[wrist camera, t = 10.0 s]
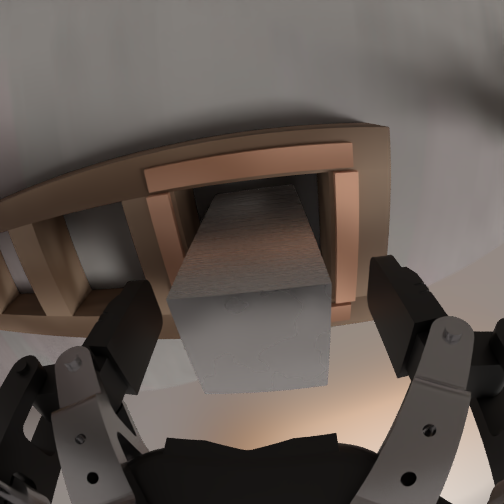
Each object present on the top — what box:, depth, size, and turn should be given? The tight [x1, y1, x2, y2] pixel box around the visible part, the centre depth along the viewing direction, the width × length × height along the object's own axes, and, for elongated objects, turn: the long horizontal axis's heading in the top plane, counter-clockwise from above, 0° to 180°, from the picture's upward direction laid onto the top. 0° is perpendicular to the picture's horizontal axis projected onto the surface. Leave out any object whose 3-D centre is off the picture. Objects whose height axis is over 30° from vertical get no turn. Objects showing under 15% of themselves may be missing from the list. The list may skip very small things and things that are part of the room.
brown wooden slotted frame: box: [0, 123, 391, 339], centre depth 15 cm, size 10×30×3 cm, turn 98°
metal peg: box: [166, 185, 332, 394], centre depth 12 cm, size 4×4×9 cm
